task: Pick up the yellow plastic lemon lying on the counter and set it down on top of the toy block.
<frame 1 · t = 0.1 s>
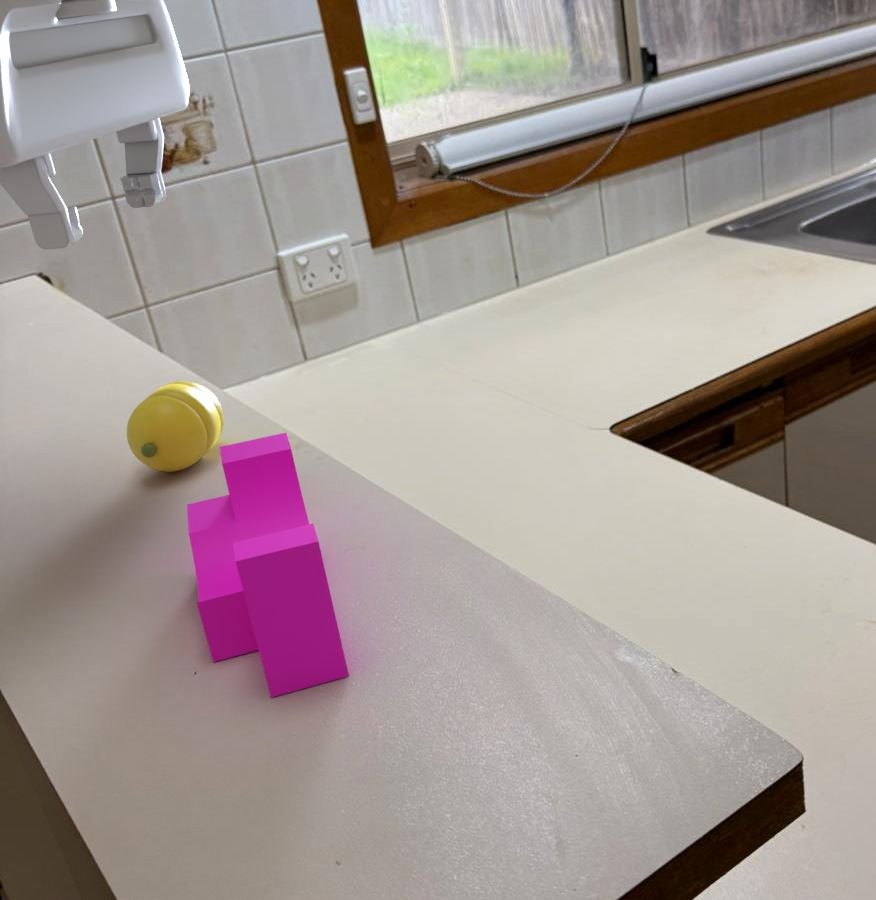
hand: (108, 223, 62), 20 cm above the worktop, tool pointing down, fingers open, 8 cm apart
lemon: (186, 461, 83), on the worktop
toy block: (271, 622, 61), on the worktop
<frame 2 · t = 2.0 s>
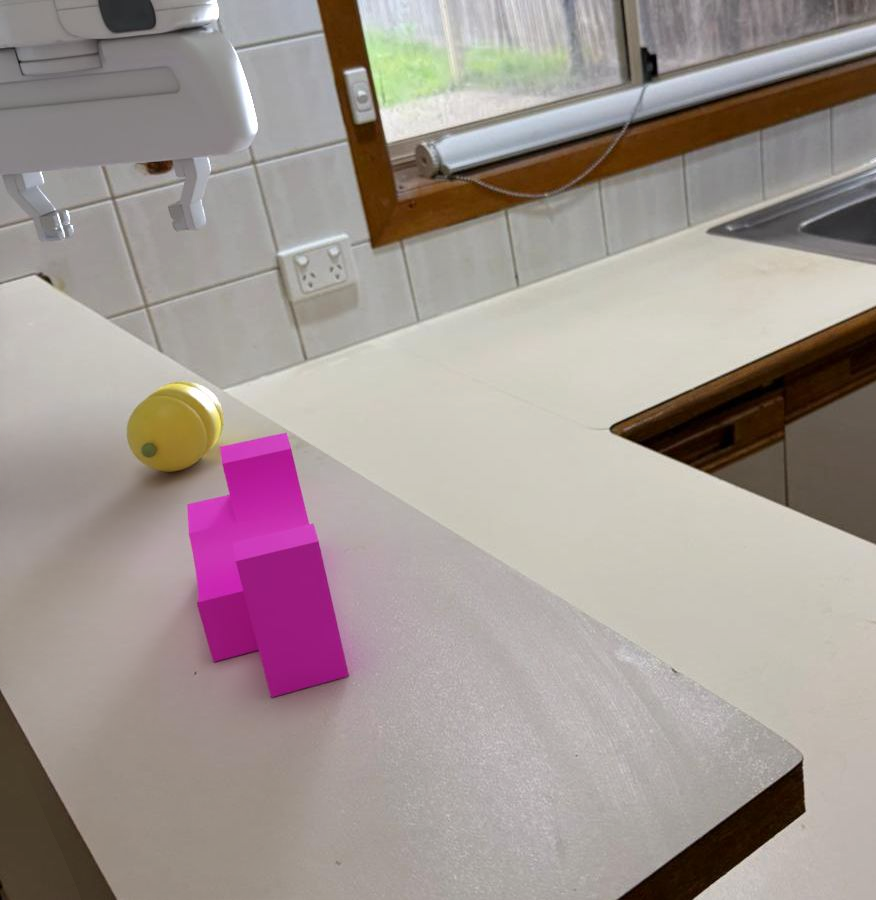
hand: (123, 234, 75), 17 cm above the worktop, tool pointing down, fingers open, 8 cm apart
nothing on the worktop moved.
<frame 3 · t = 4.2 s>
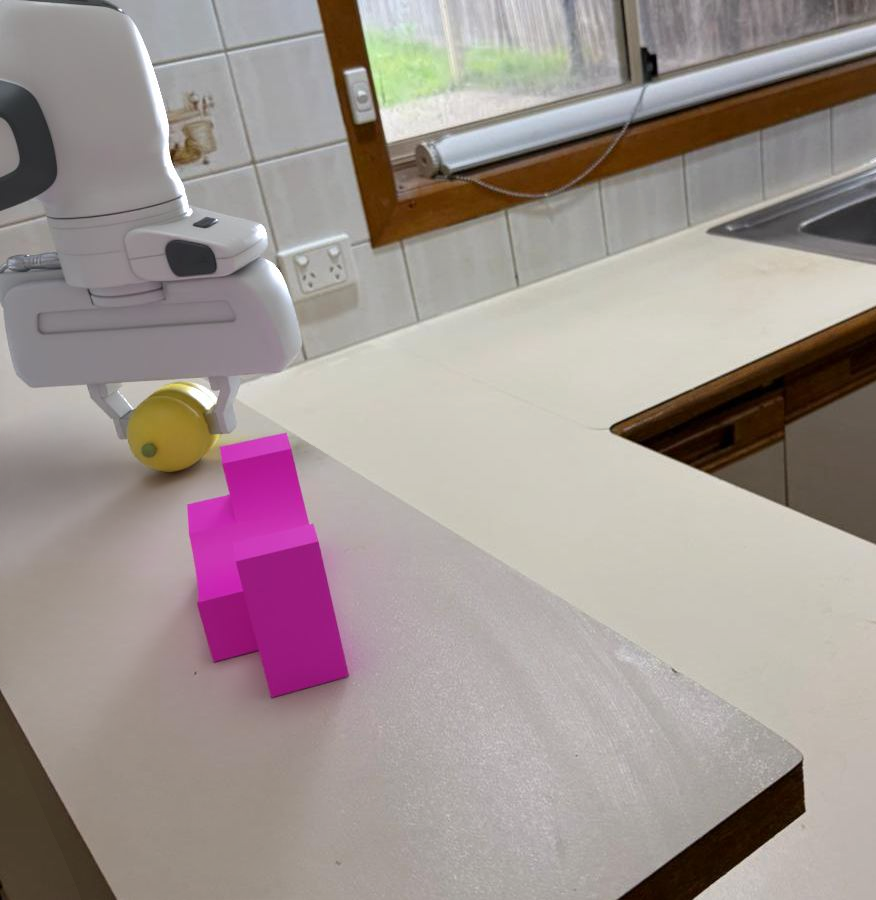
hand: (179, 433, 82), 2 cm above the worktop, tool pointing down, fingers closed on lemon, 5 cm apart
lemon: (186, 461, 83), on the worktop, touching gripper
everything else where it was.
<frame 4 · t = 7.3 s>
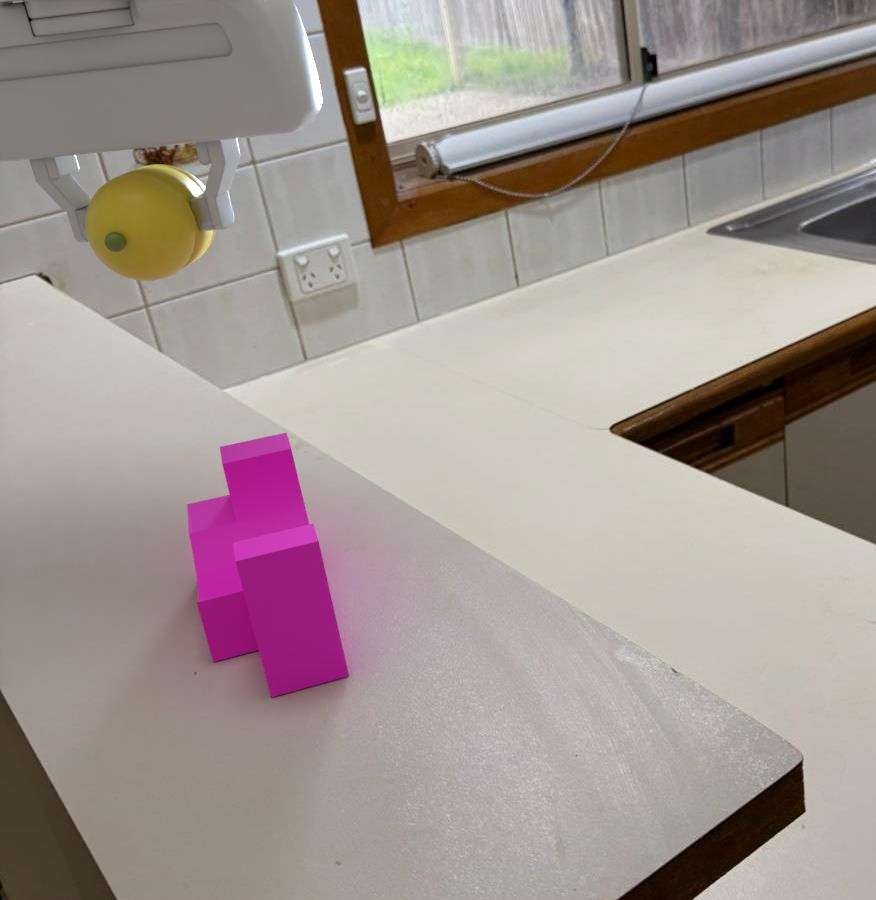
hand: (157, 233, 61), 20 cm above the worktop, tool pointing down, fingers closed on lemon, 5 cm apart
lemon: (167, 272, 62), point 17 cm above the worktop, touching gripper
everything else where it was.
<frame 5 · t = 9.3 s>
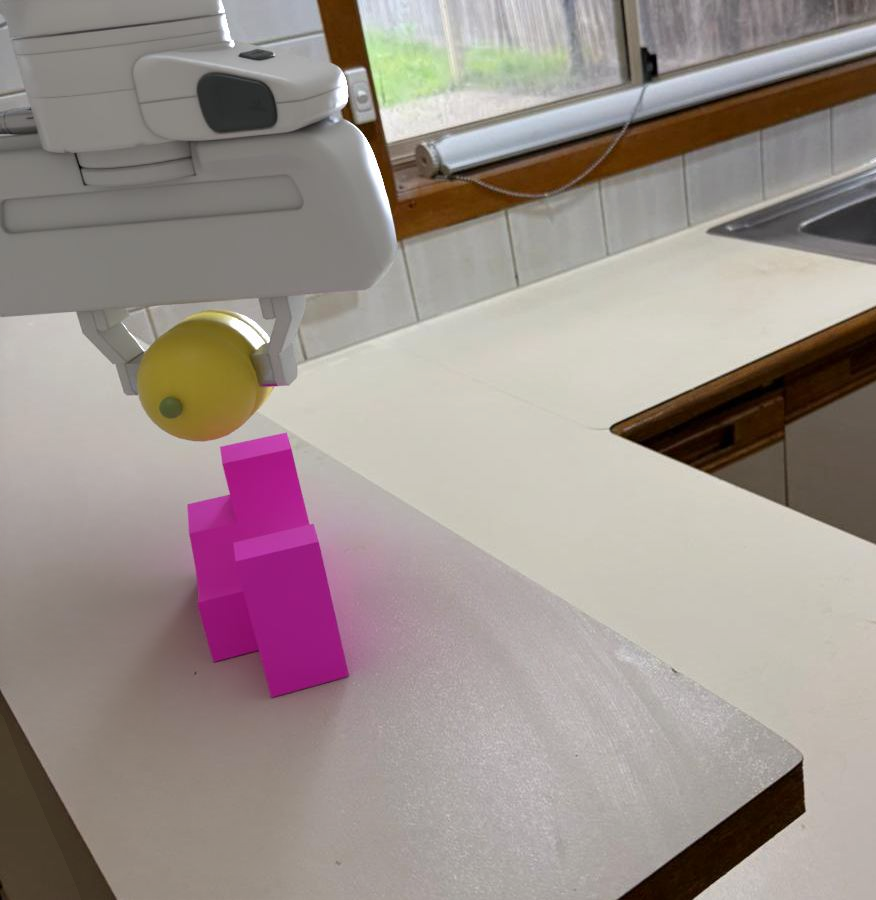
hand: (213, 387, 56), 13 cm above the worktop, tool pointing down, fingers closed on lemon, 5 cm apart
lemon: (223, 426, 57), point 11 cm above the worktop, touching gripper
everything else where it was.
when the fingers open (10 cm above the worktop, at t = 10.8 s): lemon stays where it is, resting on toy block.
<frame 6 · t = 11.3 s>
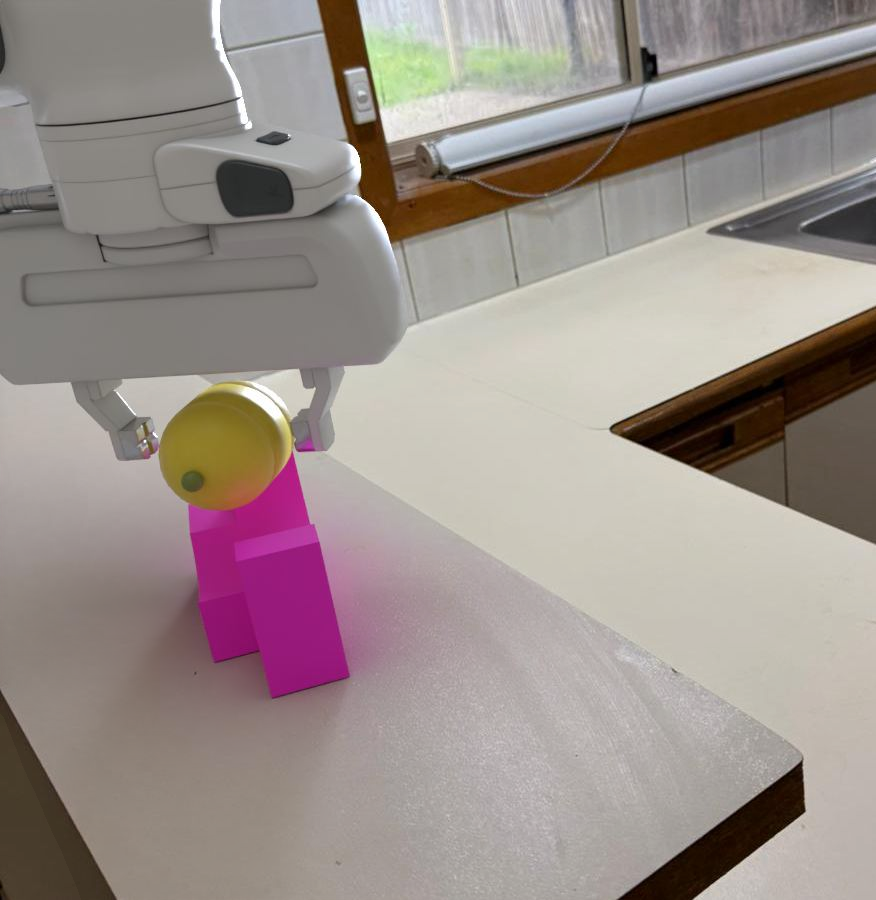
hand: (227, 452, 57), 10 cm above the worktop, tool pointing down, fingers open, 8 cm apart
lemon: (240, 494, 58), point 8 cm above the worktop, touching toy block
toy block: (272, 622, 61), on the worktop, touching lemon
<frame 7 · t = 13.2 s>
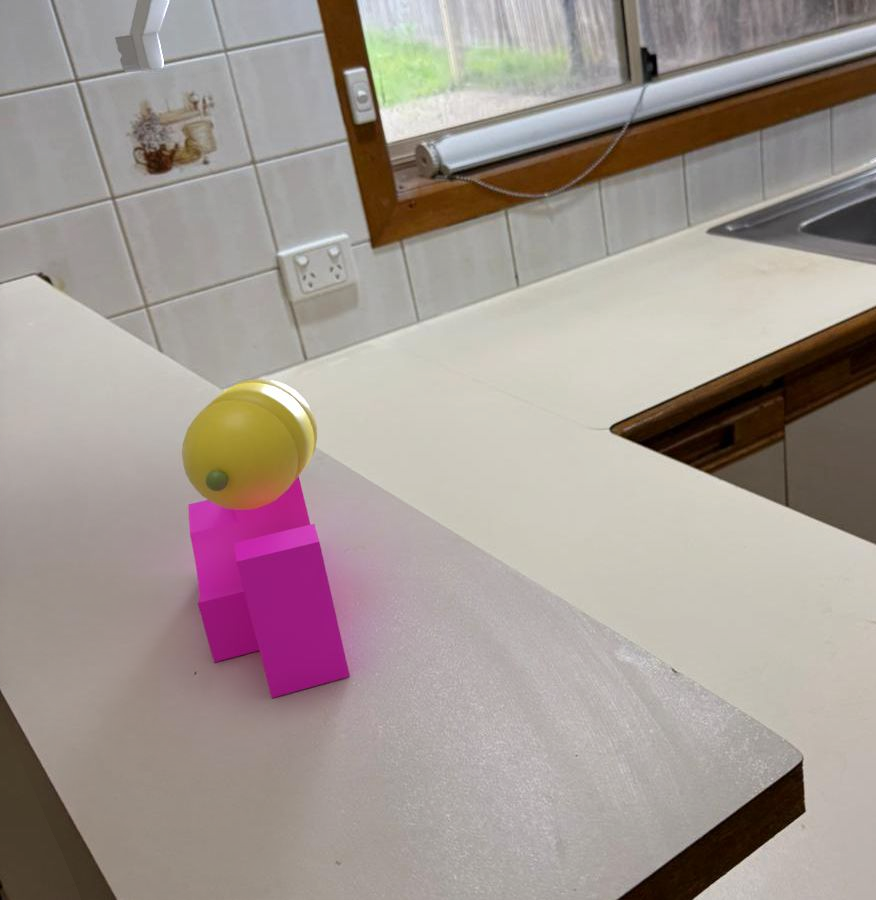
hand: (61, 77, 60), 28 cm above the worktop, tool pointing down, fingers open, 8 cm apart
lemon: (240, 489, 58), point 8 cm above the worktop, tilted 26°, touching toy block
everything else where it was.
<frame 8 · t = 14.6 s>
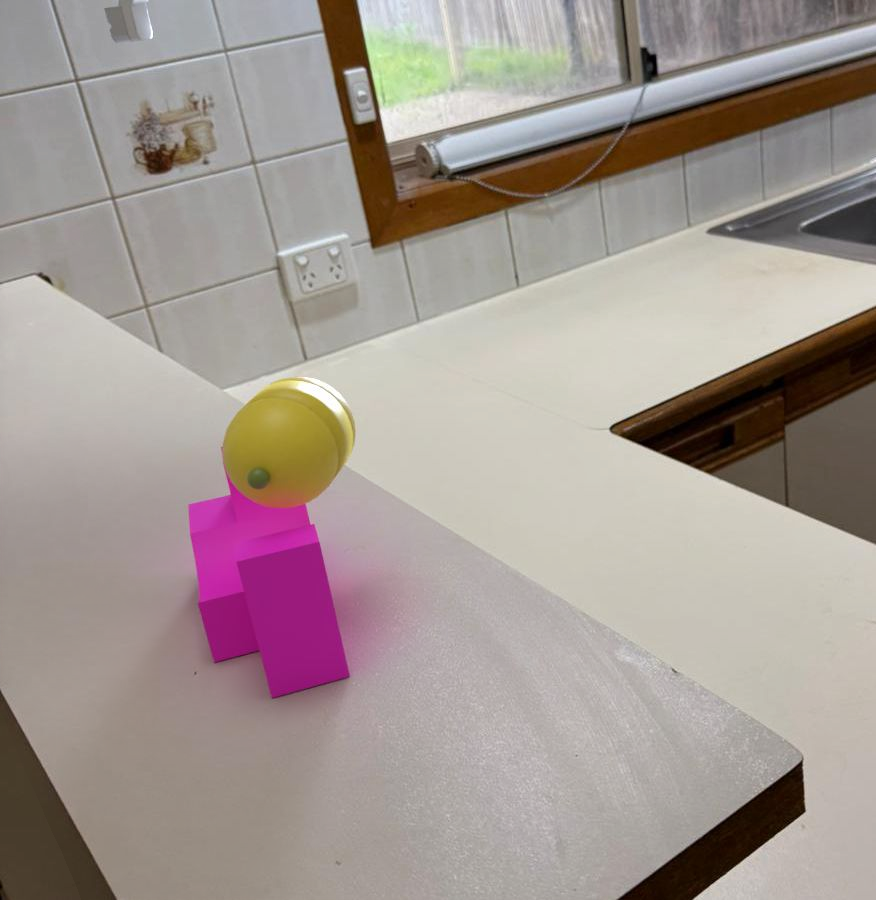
hand: (51, 50, 61), 29 cm above the worktop, tool pointing down, fingers open, 8 cm apart
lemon: (246, 462, 58), point 9 cm above the worktop, tilted 68°, touching toy block
everything else where it was.
at the end: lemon inside the target area on the toy block (1.1 cm from its centre), point 10.0 cm above the toy block's base; the gripper is holding nothing; toy block tilted 0° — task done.
